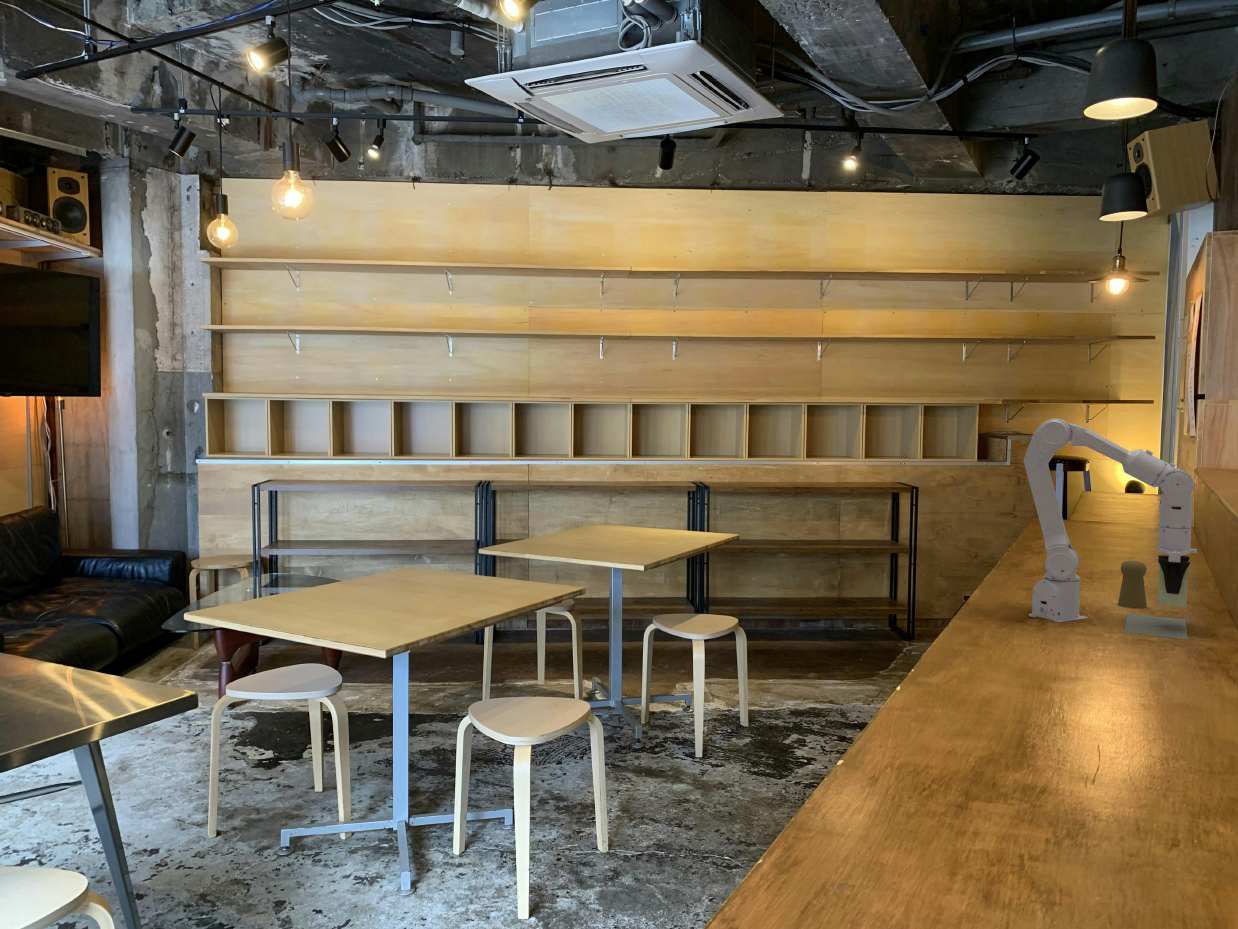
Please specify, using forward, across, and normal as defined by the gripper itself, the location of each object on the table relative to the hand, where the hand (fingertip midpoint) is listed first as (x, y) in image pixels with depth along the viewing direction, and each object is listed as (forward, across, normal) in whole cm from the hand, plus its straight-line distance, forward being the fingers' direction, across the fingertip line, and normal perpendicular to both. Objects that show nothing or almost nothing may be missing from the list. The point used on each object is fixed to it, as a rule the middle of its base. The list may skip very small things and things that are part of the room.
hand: (1172, 591), depth 186 cm
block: (+3, 0, 0) cm, 3 cm away
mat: (+8, -1, +3) cm, 8 cm away
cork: (+8, +19, +8) cm, 22 cm away
